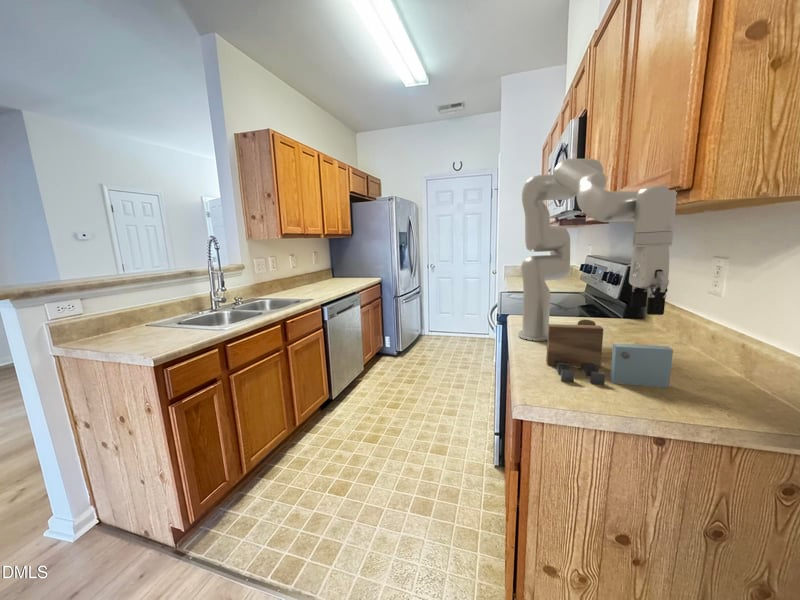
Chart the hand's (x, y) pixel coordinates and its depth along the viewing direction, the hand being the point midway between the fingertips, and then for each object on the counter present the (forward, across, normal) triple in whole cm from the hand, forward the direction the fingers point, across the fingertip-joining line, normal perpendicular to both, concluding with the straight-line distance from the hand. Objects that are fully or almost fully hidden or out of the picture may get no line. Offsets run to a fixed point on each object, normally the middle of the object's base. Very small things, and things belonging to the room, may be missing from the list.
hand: (646, 310), depth 79 cm
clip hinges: (+19, -3, -14) cm, 24 cm away
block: (+19, 0, 0) cm, 19 cm away
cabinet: (+19, -11, -14) cm, 26 cm away
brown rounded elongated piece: (+19, -23, -8) cm, 31 cm away
